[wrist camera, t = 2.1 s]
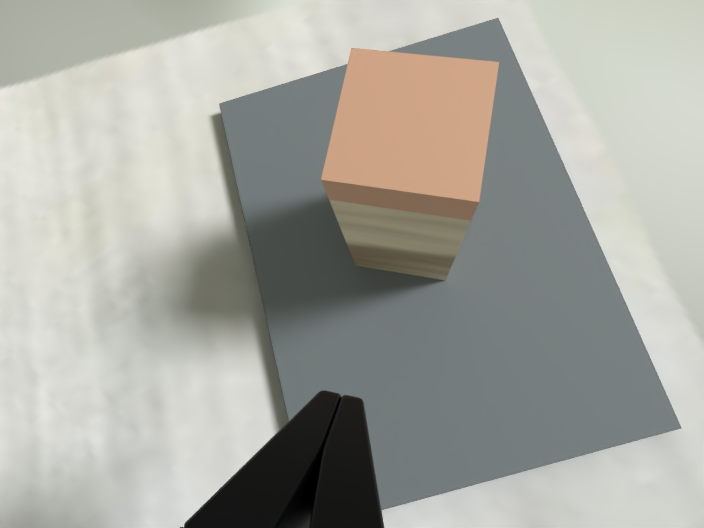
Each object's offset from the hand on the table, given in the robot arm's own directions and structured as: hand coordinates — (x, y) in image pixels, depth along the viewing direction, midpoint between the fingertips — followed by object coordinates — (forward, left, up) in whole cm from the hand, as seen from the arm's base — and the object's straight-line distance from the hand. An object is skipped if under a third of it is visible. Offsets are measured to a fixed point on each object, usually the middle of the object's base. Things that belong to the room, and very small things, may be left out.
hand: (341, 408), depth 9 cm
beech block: (+7, -4, -13) cm, 15 cm away
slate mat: (+6, -4, -14) cm, 16 cm away
